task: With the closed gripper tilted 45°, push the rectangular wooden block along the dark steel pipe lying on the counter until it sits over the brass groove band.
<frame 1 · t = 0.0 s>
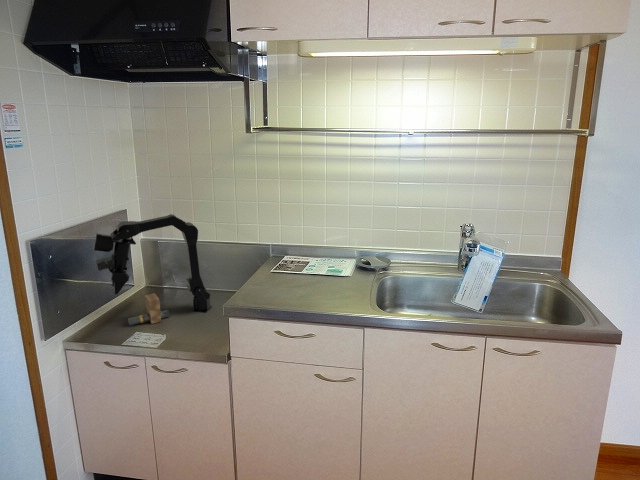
hand: (114, 290, 191), 15 cm above the countertop, tool pointing down, fingers open, 9 cm apart
steel pipe: (149, 320, 199), on the countertop
rectangular wooden block: (153, 308, 199), point 5 cm above the countertop, slide at 0.0 cm
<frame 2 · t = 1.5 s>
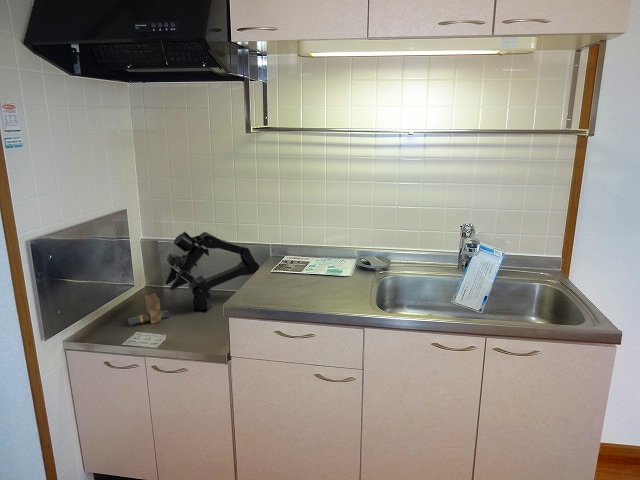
hand: (168, 286, 200), 14 cm above the countertop, tool tilted 45°, fingers open, 7 cm apart
nothing on the countertop moved.
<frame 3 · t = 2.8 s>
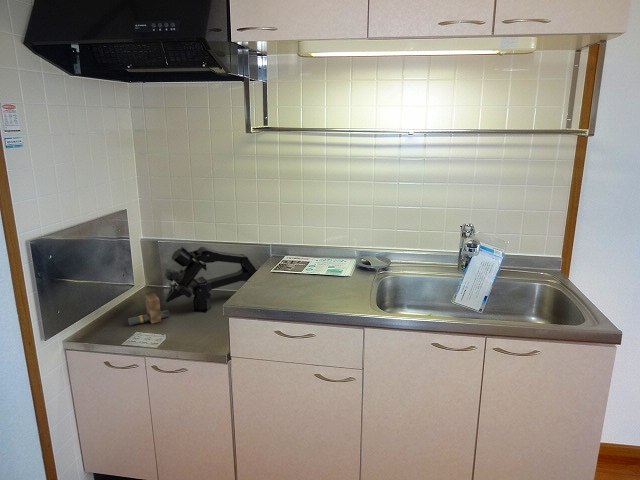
hand: (166, 301, 201), 7 cm above the countertop, tool tilted 45°, fingers closed
nothing on the countertop moved.
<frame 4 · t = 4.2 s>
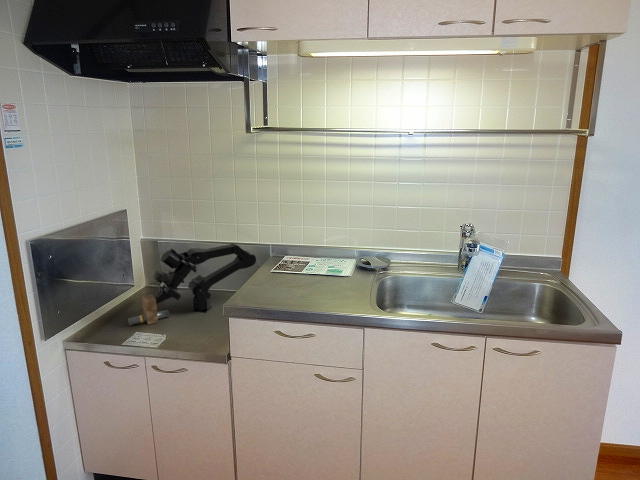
hand: (154, 303, 199), 7 cm above the countertop, tool tilted 45°, fingers closed, pressing on rectangular wooden block
rectangular wooden block: (149, 308, 198), point 5 cm above the countertop, slide at 1.4 cm, touching gripper
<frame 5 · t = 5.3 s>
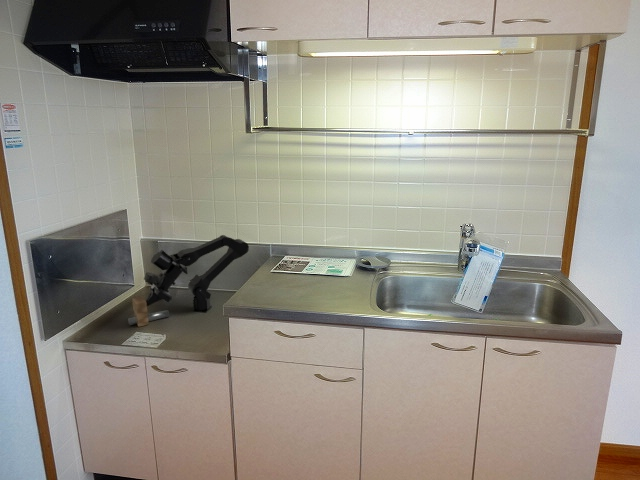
hand: (145, 305, 197), 7 cm above the countertop, tool tilted 45°, fingers closed, pressing on rectangular wooden block
rectangular wooden block: (140, 310, 196), point 5 cm above the countertop, slide at 5.2 cm, touching gripper
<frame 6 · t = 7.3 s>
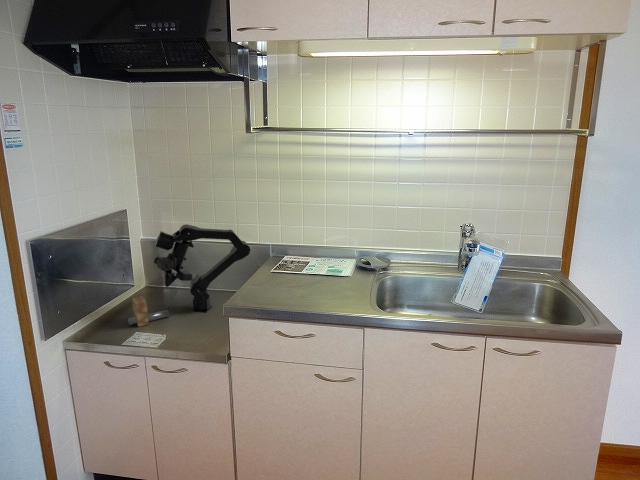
hand: (166, 286, 203), 12 cm above the countertop, tool tilted 25°, fingers closed
rectangular wooden block: (140, 310, 196), point 5 cm above the countertop, slide at 5.2 cm
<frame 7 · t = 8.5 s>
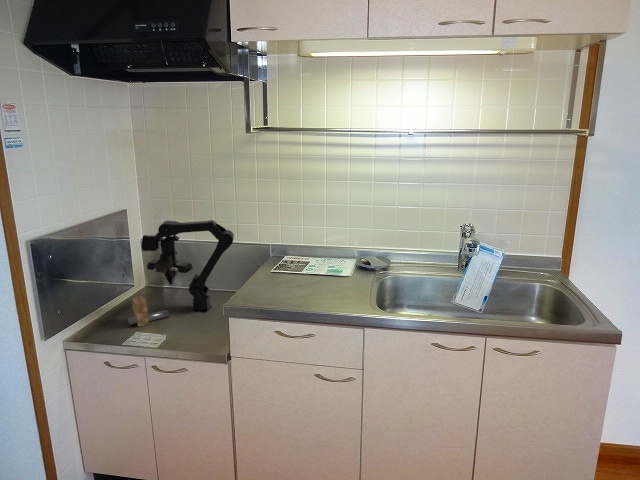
hand: (171, 284, 206), 12 cm above the countertop, tool pointing down, fingers closed
nothing on the countertop moved.
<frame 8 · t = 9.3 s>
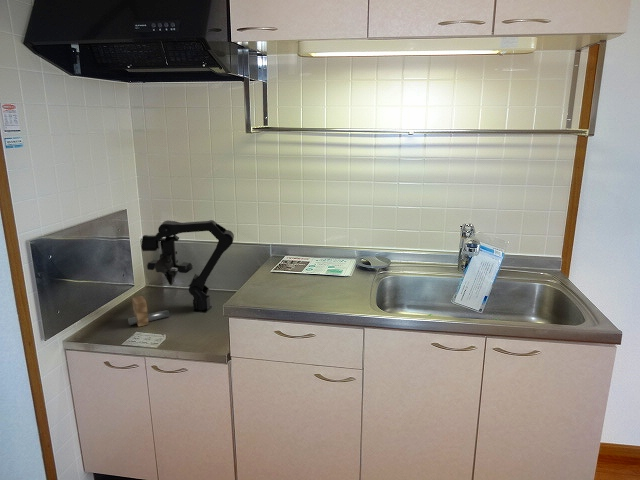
hand: (171, 284, 206), 12 cm above the countertop, tool pointing down, fingers closed
nothing on the countertop moved.
at the end: rectangular wooden block slide at 5.2 cm; the gripper is holding nothing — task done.
